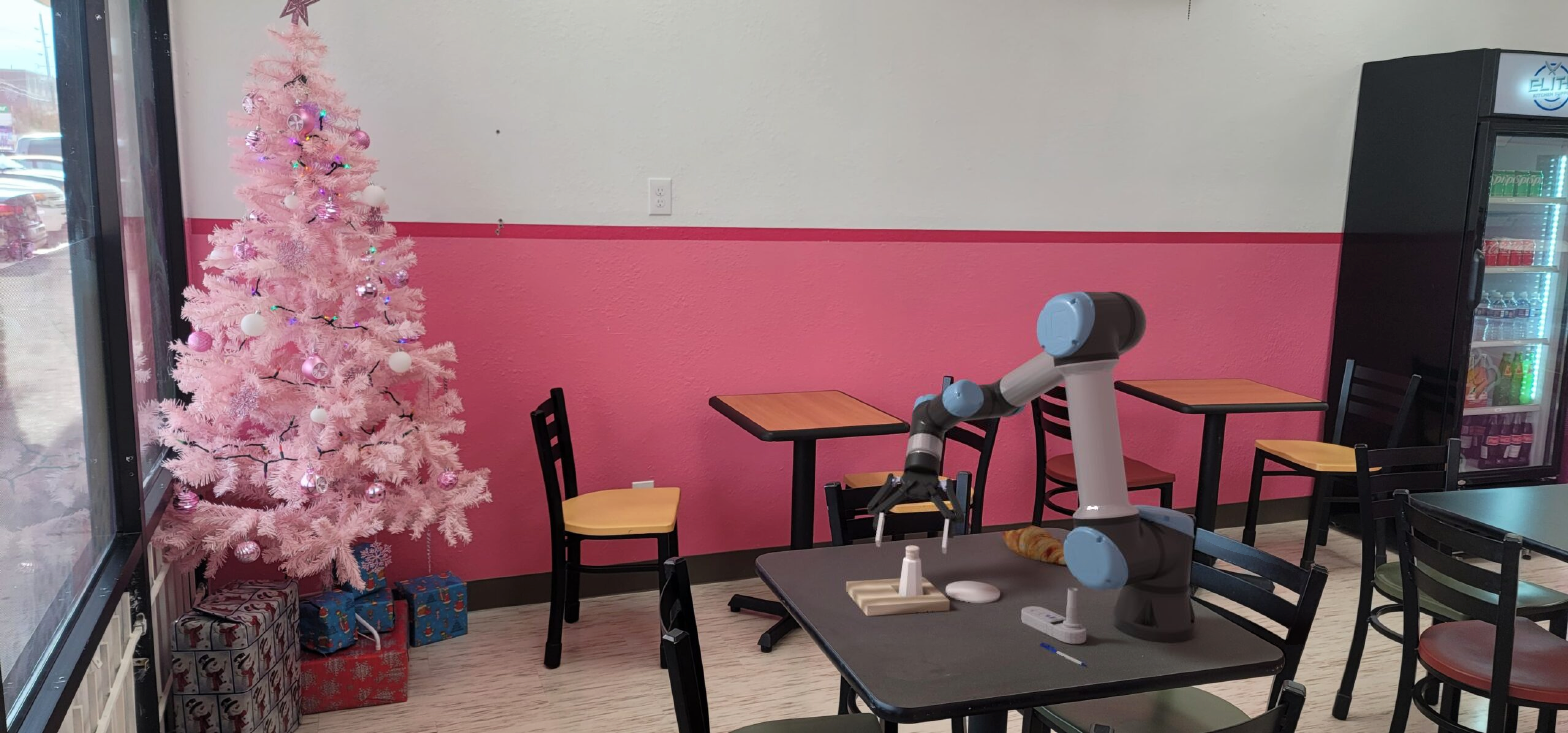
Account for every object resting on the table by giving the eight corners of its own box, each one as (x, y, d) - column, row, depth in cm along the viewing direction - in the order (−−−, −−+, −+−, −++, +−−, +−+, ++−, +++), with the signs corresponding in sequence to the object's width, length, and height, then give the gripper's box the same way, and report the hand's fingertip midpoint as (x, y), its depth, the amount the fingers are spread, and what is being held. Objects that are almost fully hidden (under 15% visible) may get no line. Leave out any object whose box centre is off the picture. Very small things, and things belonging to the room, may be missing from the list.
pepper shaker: (903, 605, 204) (905, 552, 202) (893, 596, 209) (895, 543, 208) (928, 603, 205) (930, 550, 204) (917, 594, 210) (919, 542, 209)
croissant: (1077, 580, 232) (1091, 548, 233) (1052, 567, 226) (1066, 533, 227) (1009, 553, 249) (1022, 523, 250) (983, 540, 244) (997, 509, 245)
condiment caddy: (949, 610, 202) (949, 600, 201) (867, 615, 198) (867, 606, 197) (923, 586, 215) (923, 577, 215) (846, 591, 211) (846, 581, 211)
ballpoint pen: (1038, 647, 185) (1038, 641, 185) (1041, 646, 186) (1042, 640, 186) (1084, 668, 177) (1084, 662, 177) (1087, 667, 177) (1088, 661, 177)
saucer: (1009, 601, 207) (1009, 597, 207) (958, 605, 205) (958, 601, 205) (986, 583, 218) (986, 579, 218) (937, 586, 215) (937, 582, 215)
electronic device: (1038, 569, 200) (1094, 591, 186) (1036, 617, 201) (1092, 643, 187) (1016, 572, 197) (1072, 595, 184) (1015, 622, 198) (1070, 648, 185)
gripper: (981, 473, 221) (972, 562, 209) (868, 464, 228) (852, 549, 215) (981, 454, 216) (971, 544, 203) (864, 445, 222) (848, 532, 210)
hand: (910, 547), depth 209 cm, fingers open, 13 cm apart
